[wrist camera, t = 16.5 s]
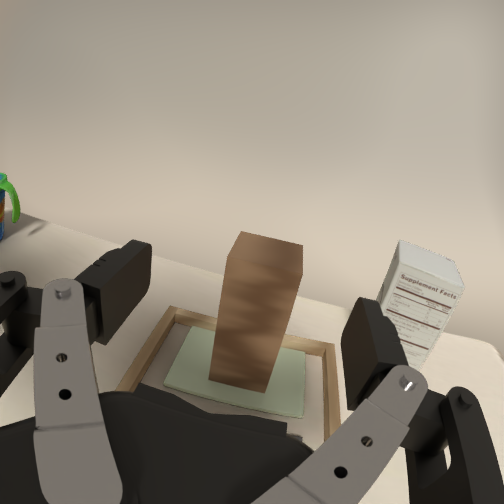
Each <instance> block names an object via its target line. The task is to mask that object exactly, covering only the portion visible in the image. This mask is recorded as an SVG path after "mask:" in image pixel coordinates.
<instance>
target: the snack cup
mask: <svg viewBox="0 0 504 504" xmlns="http://www.w3.org/2000/svg"><path fill="white" fill-rule="evenodd" d="M5 191H7V192H8V193H9V196H10V199H11V202H12V205H13V211H12V222H13V223H16V221H17V220H18V219H19V216H20V204H19V200H18V196H17V193H16V191H15V188H14V187H13V185H12V184H11V183H10V182H8V181H7V175H6V174H3V173H0V240H1V239H2V237H3V233H4V204H5Z"/></svg>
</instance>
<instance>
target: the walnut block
mask: <svg viewBox="0 0 504 504" xmlns="http://www.w3.org/2000/svg"><path fill="white" fill-rule="evenodd" d="M302 275H303V245H299V244H295V243H290V242H286V241H282V240H277V239H273V238H269V237H264V236H260V235H256V234H251V233H247V232H242V231H241V233H240V234H239V236H238V238H237V240H236V241H235V244H234V245H233V247H232V249H231V251H230V253H229V255H228V256H227V262H226V268H225V274H224V280H223V286H222V293H221V299H220V305H219V312H218V318H217V325H216V331H215V338H214V344H213V351H212V358H211V365H210V372H209V379H208V380H210V381H214V382H218V383H222V384H226V385H230V386H234V387H238V388H242V389H246V390H251V391H255V392H260V393H265V392H266V389H267V386H268V383H269V380H270V377H271V374H272V371H273V368H274V365H275V362H276V359H277V356H278V353H279V350H280V347H281V344H282V340H283V337H284V334H285V331H286V328H287V325H288V321H289V318H290V315H291V312H292V308H293V305H294V302H295V298H296V295H297V292H298V288H299V285H300V281H301V278H302Z"/></svg>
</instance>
